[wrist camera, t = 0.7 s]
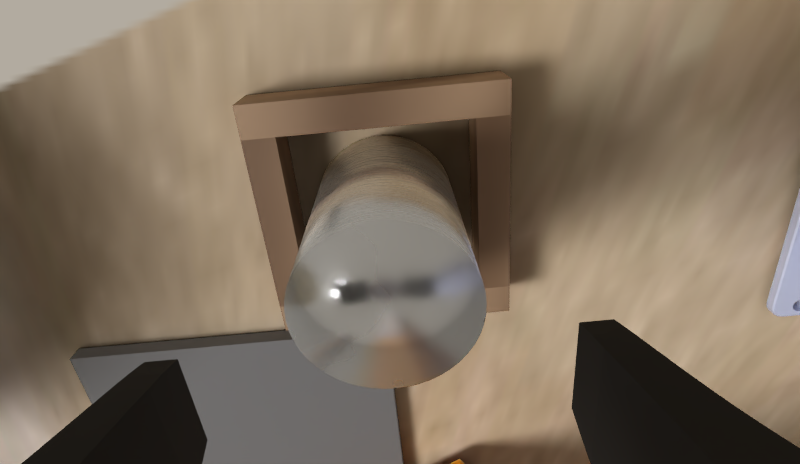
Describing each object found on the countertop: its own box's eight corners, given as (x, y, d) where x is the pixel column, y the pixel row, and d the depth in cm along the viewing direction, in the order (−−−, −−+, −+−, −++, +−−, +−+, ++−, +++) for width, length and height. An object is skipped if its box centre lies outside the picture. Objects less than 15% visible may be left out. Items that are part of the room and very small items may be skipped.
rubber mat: (386, 321, 19) (386, 331, 18) (410, 519, 24) (411, 531, 24) (78, 348, 19) (69, 359, 19) (169, 539, 25) (165, 551, 24)
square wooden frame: (500, 70, 15) (511, 78, 14) (500, 287, 18) (509, 310, 17) (245, 95, 15) (232, 105, 14) (292, 305, 19) (285, 330, 17)
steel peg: (448, 128, 16) (485, 211, 10) (454, 251, 18) (487, 380, 12) (308, 142, 16) (264, 231, 10) (330, 263, 18) (303, 396, 12)
